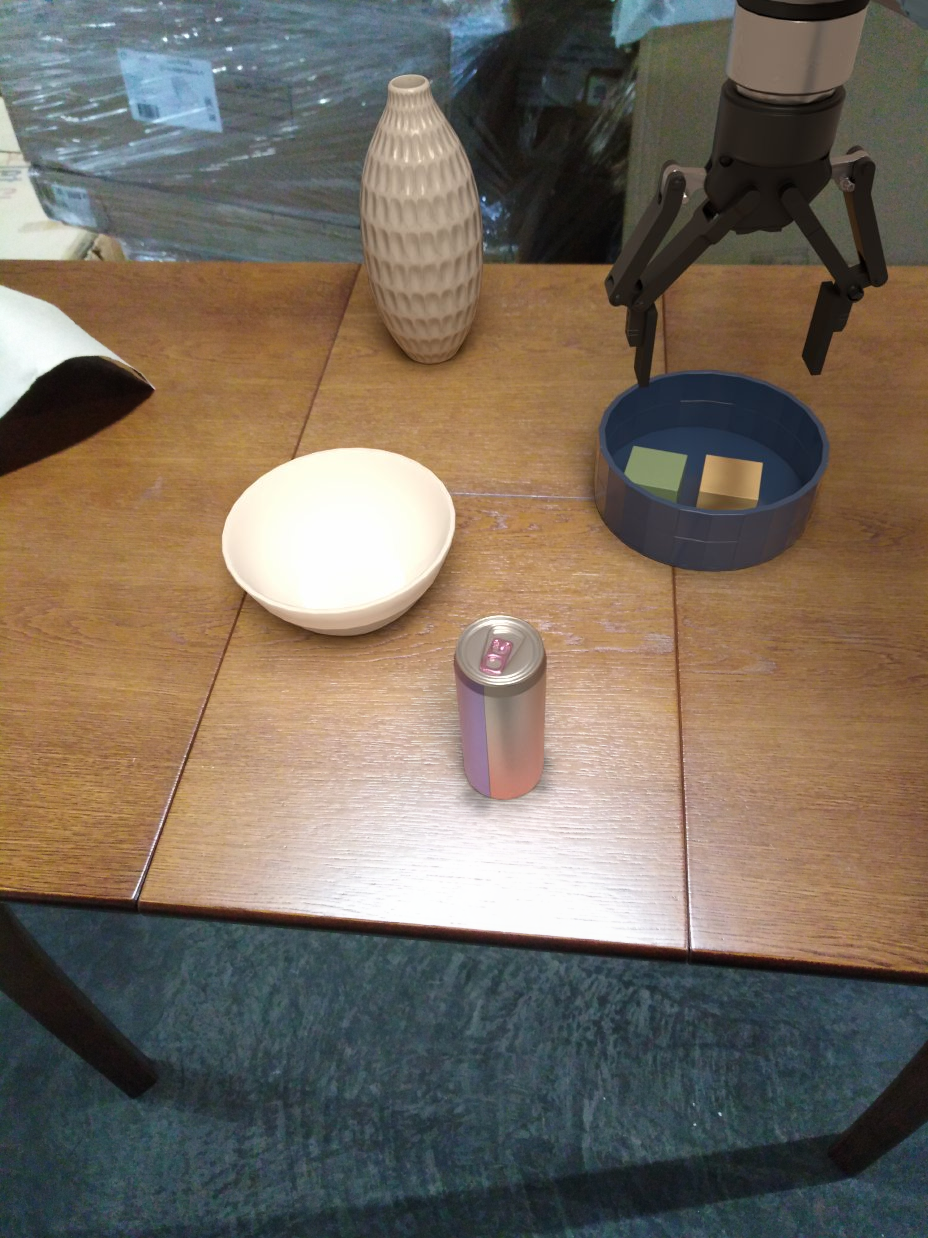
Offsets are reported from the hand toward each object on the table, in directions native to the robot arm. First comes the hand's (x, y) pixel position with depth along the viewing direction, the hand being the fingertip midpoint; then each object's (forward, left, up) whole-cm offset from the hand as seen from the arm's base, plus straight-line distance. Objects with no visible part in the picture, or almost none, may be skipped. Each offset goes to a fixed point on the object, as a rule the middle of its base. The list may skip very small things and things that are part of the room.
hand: (725, 371), depth 72 cm
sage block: (+2, +1, -13) cm, 13 cm away
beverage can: (+10, +31, -16) cm, 36 cm away
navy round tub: (0, -3, -16) cm, 16 cm away
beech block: (-2, 0, -15) cm, 16 cm away
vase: (+33, -20, -16) cm, 42 cm away
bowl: (+28, +17, -16) cm, 37 cm away
